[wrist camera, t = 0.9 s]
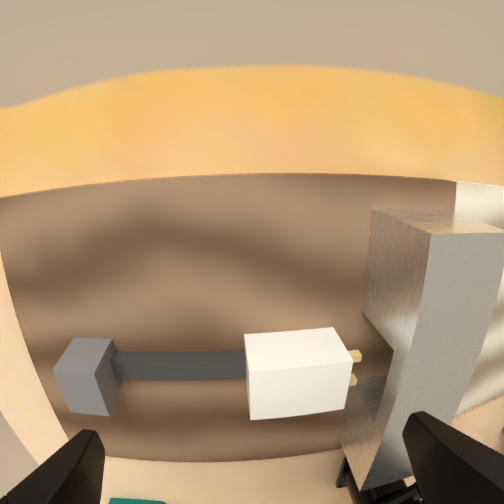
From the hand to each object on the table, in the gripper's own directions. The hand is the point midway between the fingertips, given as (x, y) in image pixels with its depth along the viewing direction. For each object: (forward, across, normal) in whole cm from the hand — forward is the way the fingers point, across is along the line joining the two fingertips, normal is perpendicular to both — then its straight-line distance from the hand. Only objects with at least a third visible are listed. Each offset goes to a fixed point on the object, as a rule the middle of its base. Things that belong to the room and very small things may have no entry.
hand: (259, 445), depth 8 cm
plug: (+12, +2, +6) cm, 14 cm away
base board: (+13, -12, +6) cm, 19 cm away
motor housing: (+14, -12, +6) cm, 19 cm away
